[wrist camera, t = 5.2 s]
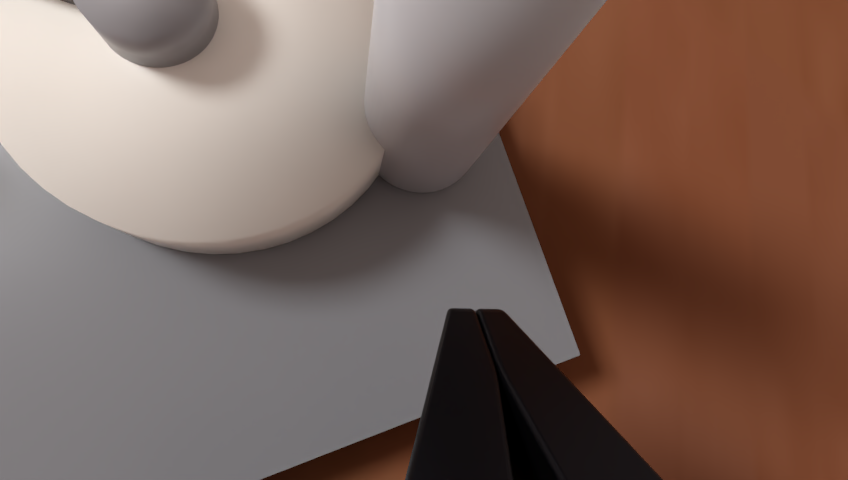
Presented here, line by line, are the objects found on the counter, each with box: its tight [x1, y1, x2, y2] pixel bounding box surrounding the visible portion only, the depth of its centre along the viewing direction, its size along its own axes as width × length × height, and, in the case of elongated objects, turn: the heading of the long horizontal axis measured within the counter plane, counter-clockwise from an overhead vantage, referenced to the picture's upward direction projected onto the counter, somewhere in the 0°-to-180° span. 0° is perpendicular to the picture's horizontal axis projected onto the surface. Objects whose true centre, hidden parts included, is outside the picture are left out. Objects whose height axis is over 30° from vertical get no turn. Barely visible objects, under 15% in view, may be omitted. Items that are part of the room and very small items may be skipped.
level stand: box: [0, 133, 580, 480], centre depth 12 cm, size 16×16×5 cm
